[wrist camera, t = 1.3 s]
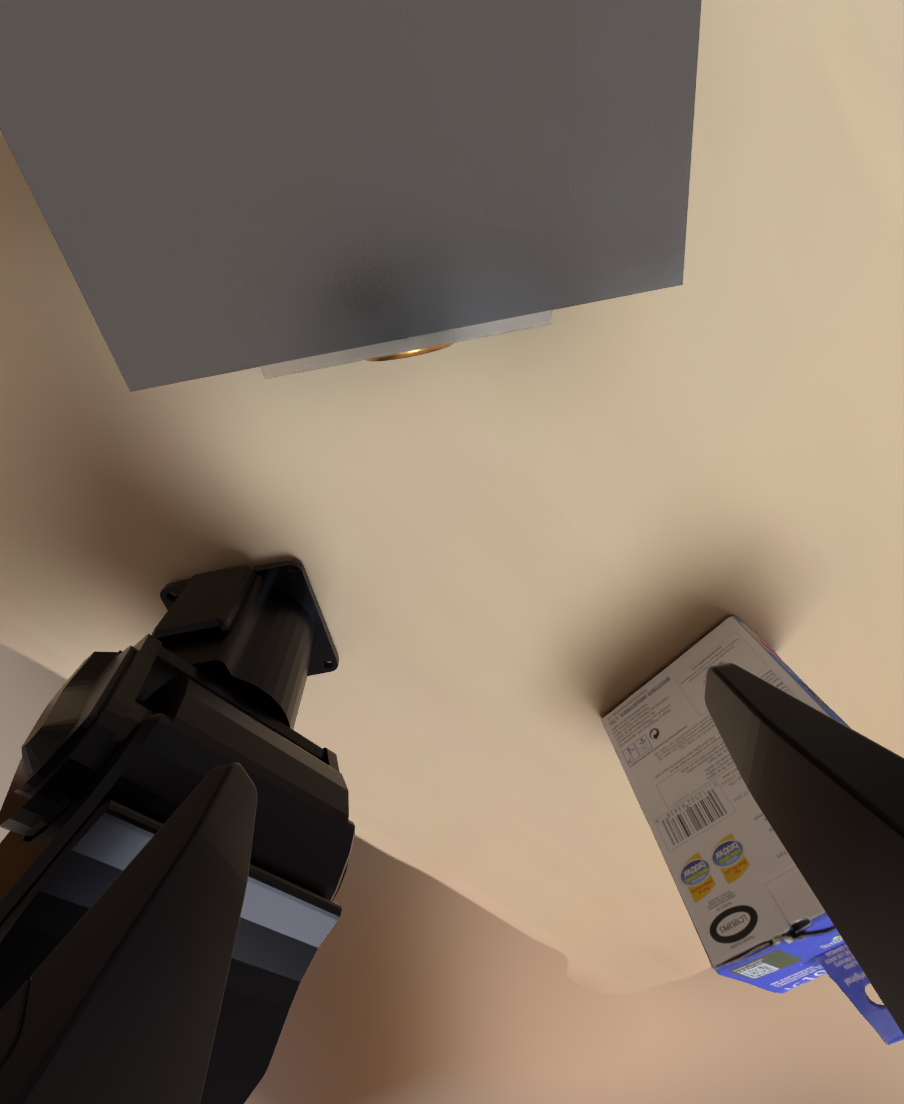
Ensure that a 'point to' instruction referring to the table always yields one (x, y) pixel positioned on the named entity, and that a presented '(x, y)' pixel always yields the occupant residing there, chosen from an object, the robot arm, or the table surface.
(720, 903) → the ink cartridge box
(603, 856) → the table surface
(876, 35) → the table surface
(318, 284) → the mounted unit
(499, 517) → the table surface
